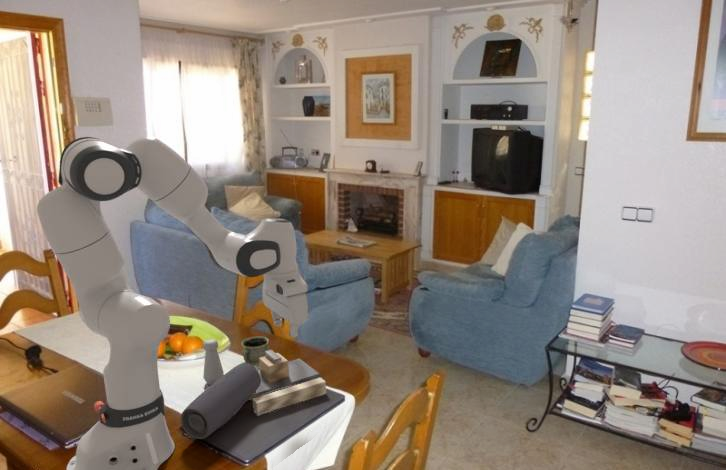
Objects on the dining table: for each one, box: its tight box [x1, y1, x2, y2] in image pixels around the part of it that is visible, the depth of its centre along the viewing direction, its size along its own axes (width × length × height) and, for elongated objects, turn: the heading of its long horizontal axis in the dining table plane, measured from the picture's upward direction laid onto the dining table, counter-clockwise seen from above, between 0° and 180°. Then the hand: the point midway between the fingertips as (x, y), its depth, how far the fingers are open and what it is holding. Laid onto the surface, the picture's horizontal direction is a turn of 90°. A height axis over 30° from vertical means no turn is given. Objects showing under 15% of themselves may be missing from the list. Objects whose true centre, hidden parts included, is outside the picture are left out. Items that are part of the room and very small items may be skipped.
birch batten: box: [251, 377, 327, 414], centre depth 146 cm, size 20×3×4 cm, turn 122°
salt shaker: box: [202, 338, 225, 386], centre depth 158 cm, size 6×6×13 cm
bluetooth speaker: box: [180, 362, 261, 440], centre depth 138 cm, size 23×9×10 cm, turn 159°
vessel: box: [241, 336, 271, 366], centre depth 173 cm, size 12×9×6 cm
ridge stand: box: [255, 349, 320, 394], centre depth 158 cm, size 22×13×8 cm, turn 123°
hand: (285, 330), depth 142 cm, fingers open, 8 cm apart
